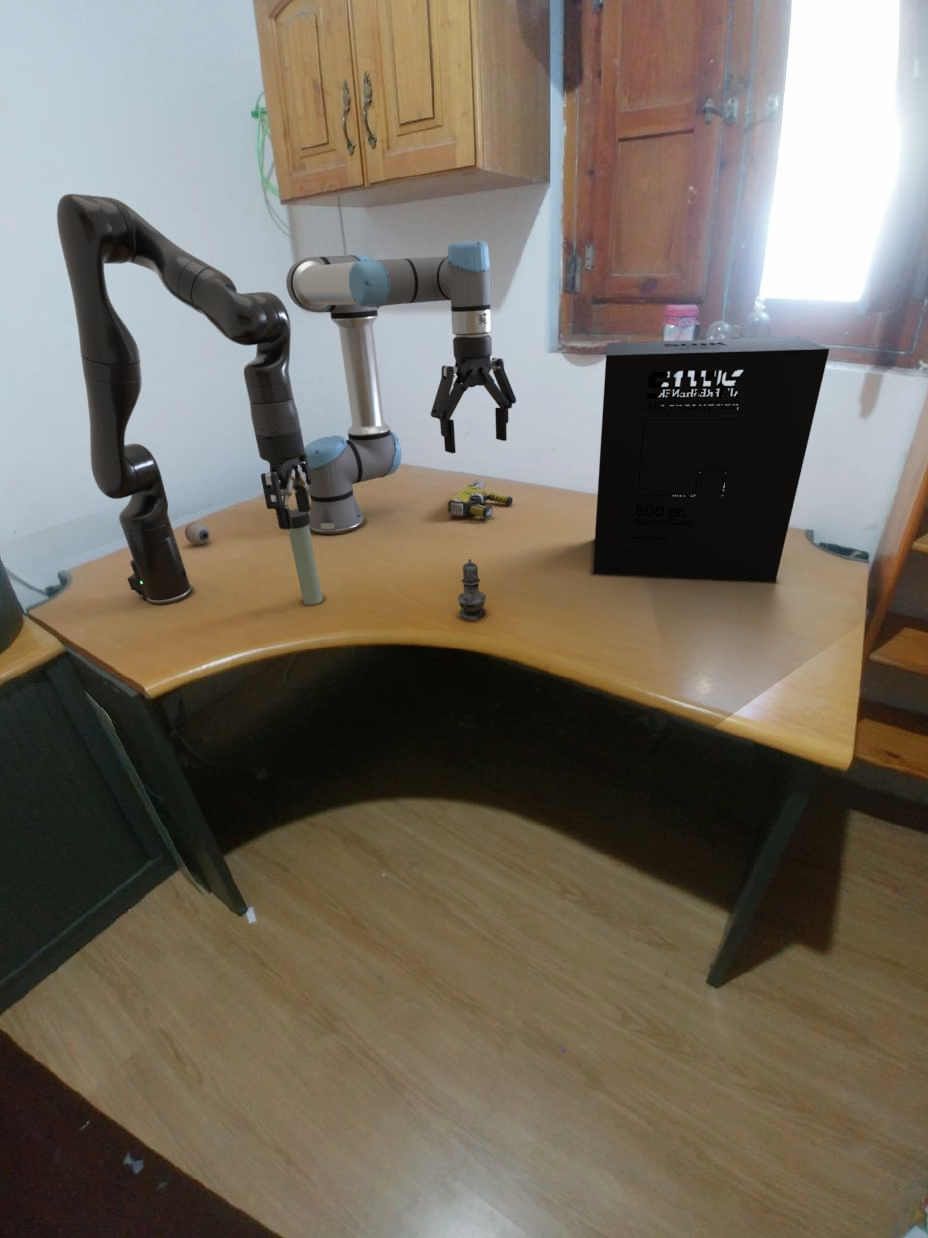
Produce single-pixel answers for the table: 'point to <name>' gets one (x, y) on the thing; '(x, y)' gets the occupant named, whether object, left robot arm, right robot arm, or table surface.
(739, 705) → the table surface
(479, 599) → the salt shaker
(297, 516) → the lid
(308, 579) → the bottle
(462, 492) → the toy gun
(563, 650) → the table surface
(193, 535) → the eyeball
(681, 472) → the black angular block
